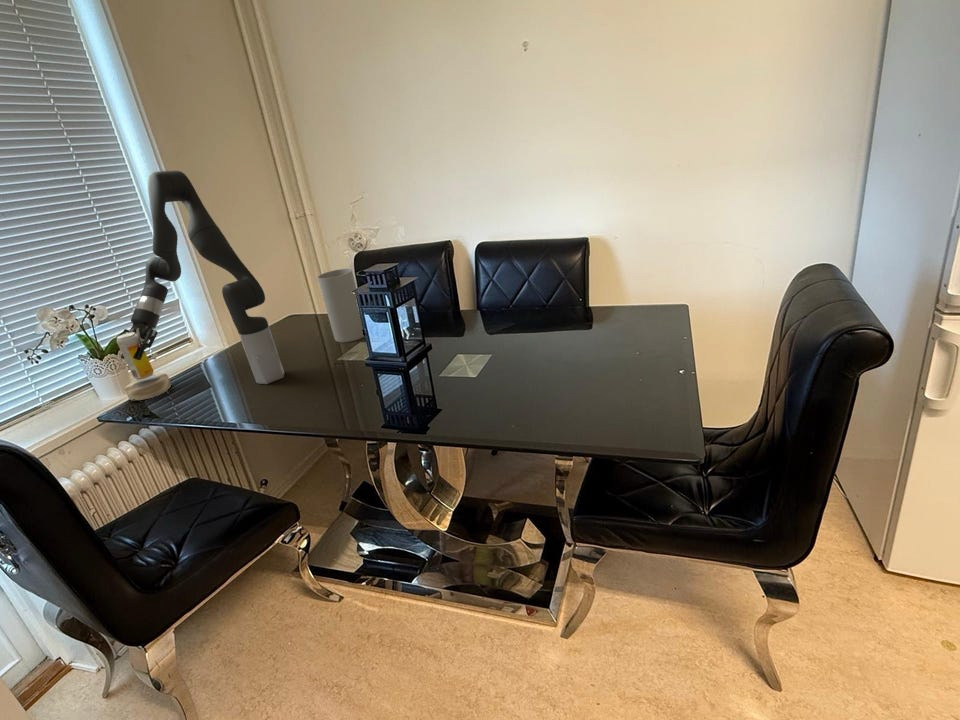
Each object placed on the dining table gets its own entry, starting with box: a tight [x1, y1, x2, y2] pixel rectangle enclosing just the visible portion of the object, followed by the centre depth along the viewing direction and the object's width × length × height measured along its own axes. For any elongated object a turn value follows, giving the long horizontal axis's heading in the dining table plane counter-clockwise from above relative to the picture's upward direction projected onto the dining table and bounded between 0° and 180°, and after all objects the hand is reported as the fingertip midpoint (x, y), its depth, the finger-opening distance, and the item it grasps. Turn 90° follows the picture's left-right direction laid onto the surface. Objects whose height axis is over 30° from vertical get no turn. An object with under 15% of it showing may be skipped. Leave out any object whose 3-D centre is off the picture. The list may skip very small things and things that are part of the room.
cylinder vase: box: [316, 268, 365, 344], centre depth 194 cm, size 12×12×25 cm
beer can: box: [116, 332, 155, 380], centre depth 172 cm, size 6×6×15 cm
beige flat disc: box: [124, 373, 173, 401], centre depth 176 cm, size 13×13×4 cm
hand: (130, 358), depth 171 cm, fingers closed on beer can, 5 cm apart
